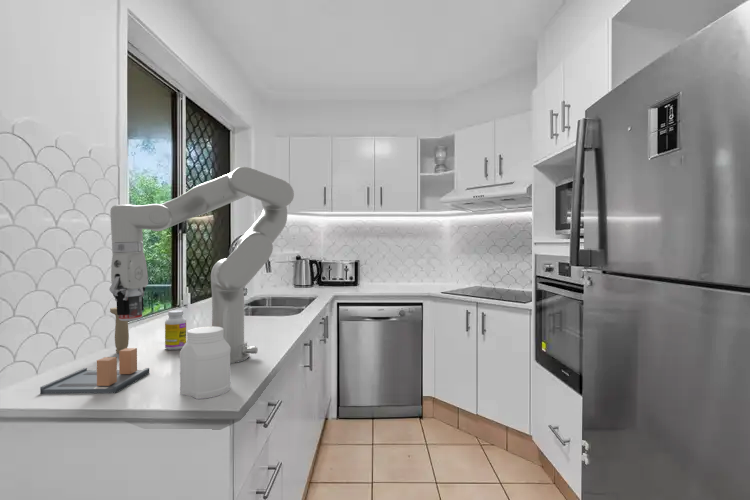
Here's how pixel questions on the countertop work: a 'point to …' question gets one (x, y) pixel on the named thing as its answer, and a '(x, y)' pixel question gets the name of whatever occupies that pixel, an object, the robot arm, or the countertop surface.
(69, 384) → the grey tray
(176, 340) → the supplement bottle
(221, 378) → the jar
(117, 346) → the handle
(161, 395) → the countertop surface
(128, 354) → the orange rectangular block
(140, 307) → the pill bottle
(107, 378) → the tab
